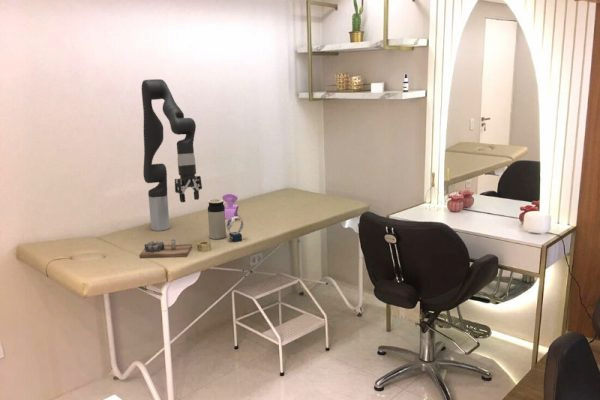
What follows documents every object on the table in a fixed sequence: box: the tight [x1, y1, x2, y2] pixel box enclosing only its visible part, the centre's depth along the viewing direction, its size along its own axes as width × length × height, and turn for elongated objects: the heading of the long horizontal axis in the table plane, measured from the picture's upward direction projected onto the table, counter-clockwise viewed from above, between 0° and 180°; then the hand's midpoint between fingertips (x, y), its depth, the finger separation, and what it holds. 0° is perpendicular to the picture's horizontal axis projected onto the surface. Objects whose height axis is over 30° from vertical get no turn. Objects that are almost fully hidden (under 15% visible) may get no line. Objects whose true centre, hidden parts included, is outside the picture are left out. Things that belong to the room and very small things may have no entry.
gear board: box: [139, 237, 193, 259], centre depth 233 cm, size 13×20×6 cm, turn 93°
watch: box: [226, 217, 245, 243], centre depth 249 cm, size 6×8×11 cm
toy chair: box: [221, 192, 239, 220], centre depth 286 cm, size 8×9×15 cm
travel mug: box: [207, 198, 227, 240], centre depth 254 cm, size 8×8×18 cm
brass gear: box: [196, 240, 212, 253], centre depth 237 cm, size 6×6×3 cm
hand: (189, 200), depth 234 cm, fingers open, 8 cm apart
